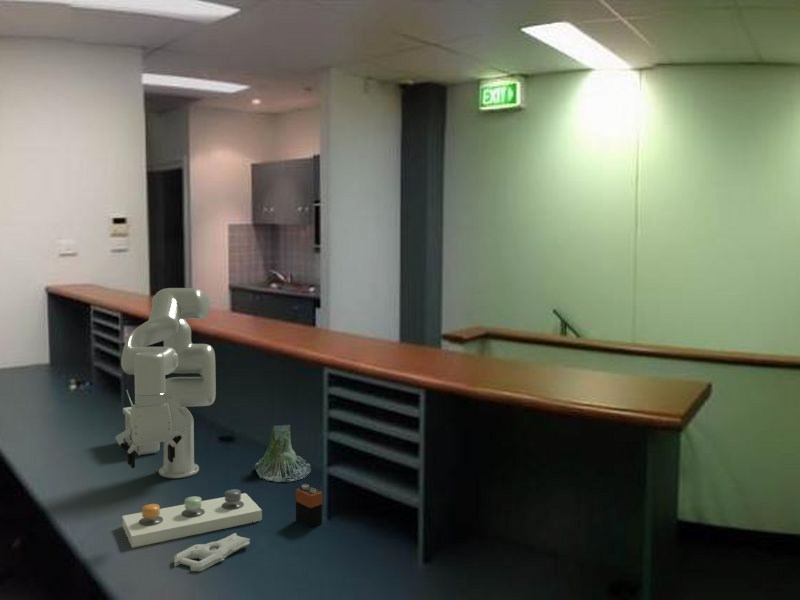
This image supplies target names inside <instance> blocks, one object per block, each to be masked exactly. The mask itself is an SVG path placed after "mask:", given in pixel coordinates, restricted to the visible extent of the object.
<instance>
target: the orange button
mask: <svg viewBox="0 0 800 600" xmlns="http://www.w3.org/2000/svg"><path fill="white" fill-rule="evenodd" d="M160 507H161V506H160V505H159V504H158V503H150V504H146V505H143V506H142V507H141V512H142V517H144V518H153V517H157V516H158V515H159V514H160V509H161V508H160Z"/></svg>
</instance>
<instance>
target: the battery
mask: <svg viewBox="0 0 800 600" xmlns="http://www.w3.org/2000/svg"><path fill="white" fill-rule="evenodd" d="M295 520H296V522H299V523H301V524H303V525H304V526H306V527H308V528H312V527H315V526H318V525H320V524H322V523H323V492H322V491H321V490H318V489H316V488H314V487H312V486H310V485H309V484H307V483H304V484H301V487H298V488H296V489H295Z"/></svg>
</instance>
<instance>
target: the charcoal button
mask: <svg viewBox="0 0 800 600" xmlns="http://www.w3.org/2000/svg"><path fill="white" fill-rule="evenodd" d="M241 494H242V491H241V490H240V489H238V488H237V489H236V488H235V489H234V488H233V489H228V490H225V491H224V497H225V501H226V502H237V501H239V500H241Z"/></svg>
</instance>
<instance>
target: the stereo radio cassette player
mask: <svg viewBox="0 0 800 600" xmlns="http://www.w3.org/2000/svg"><path fill="white" fill-rule="evenodd" d="M125 391H126V393H127V397H128V400H129V403H130V405H131V406H128V407H123V408H122V413H123V415H124V419H125V420H124V425H125V427H124V428H125V429H124V431H126V430H127V429H129V425H130V413H131V407H132V405H134V404H133V401H132V400H131V397H130V394H129V391H128V389H125ZM130 442H131V440H130V438H129V436H127V437H125V443H126V444H127V445H128V444H129V443H130ZM160 445H161V442H158V443H151V444H143V445H137V447H136V448H135V449H134V450H133V451H134V452H136V454H137V455H138V456H141V455H142V456H143V455H150V454H156V453H157V452H159V451H160V448H161V447H160Z"/></svg>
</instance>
